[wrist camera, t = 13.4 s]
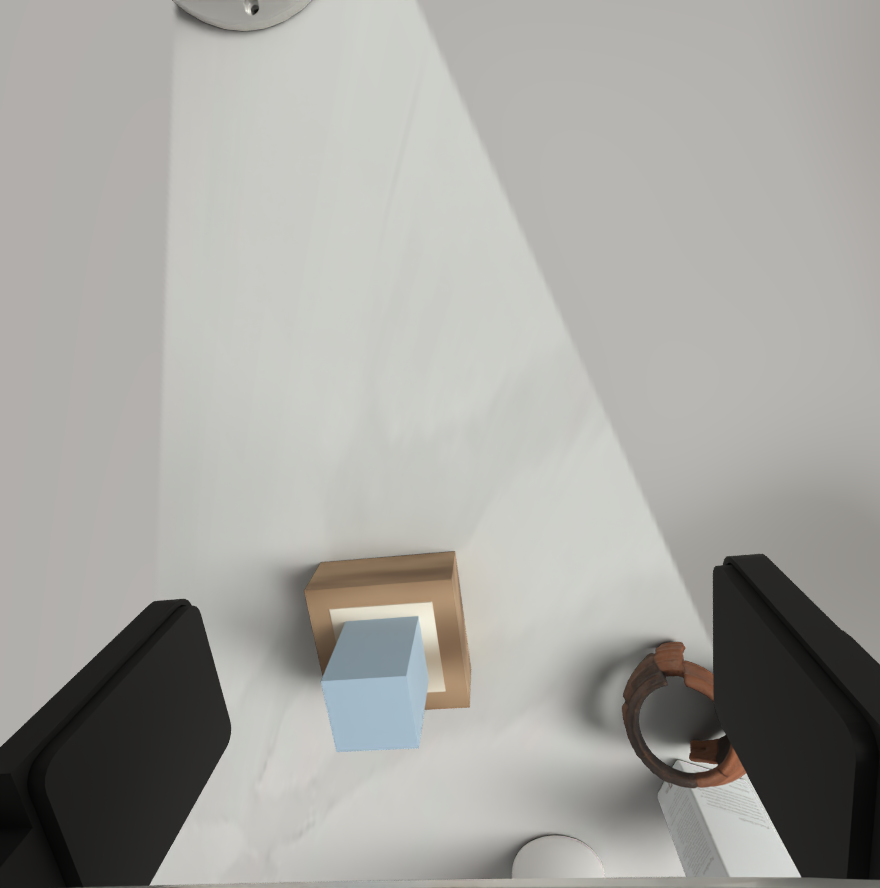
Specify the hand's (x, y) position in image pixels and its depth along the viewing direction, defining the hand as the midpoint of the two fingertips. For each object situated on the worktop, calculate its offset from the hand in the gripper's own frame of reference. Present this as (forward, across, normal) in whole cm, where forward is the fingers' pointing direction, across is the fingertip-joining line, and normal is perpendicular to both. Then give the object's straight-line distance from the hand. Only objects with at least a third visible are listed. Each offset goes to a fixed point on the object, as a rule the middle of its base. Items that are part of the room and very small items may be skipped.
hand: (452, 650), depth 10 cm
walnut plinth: (+28, +8, +17) cm, 34 cm away
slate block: (+24, +8, +17) cm, 31 cm away
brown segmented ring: (+29, -14, +25) cm, 40 cm away
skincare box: (+28, -14, +34) cm, 47 cm away
